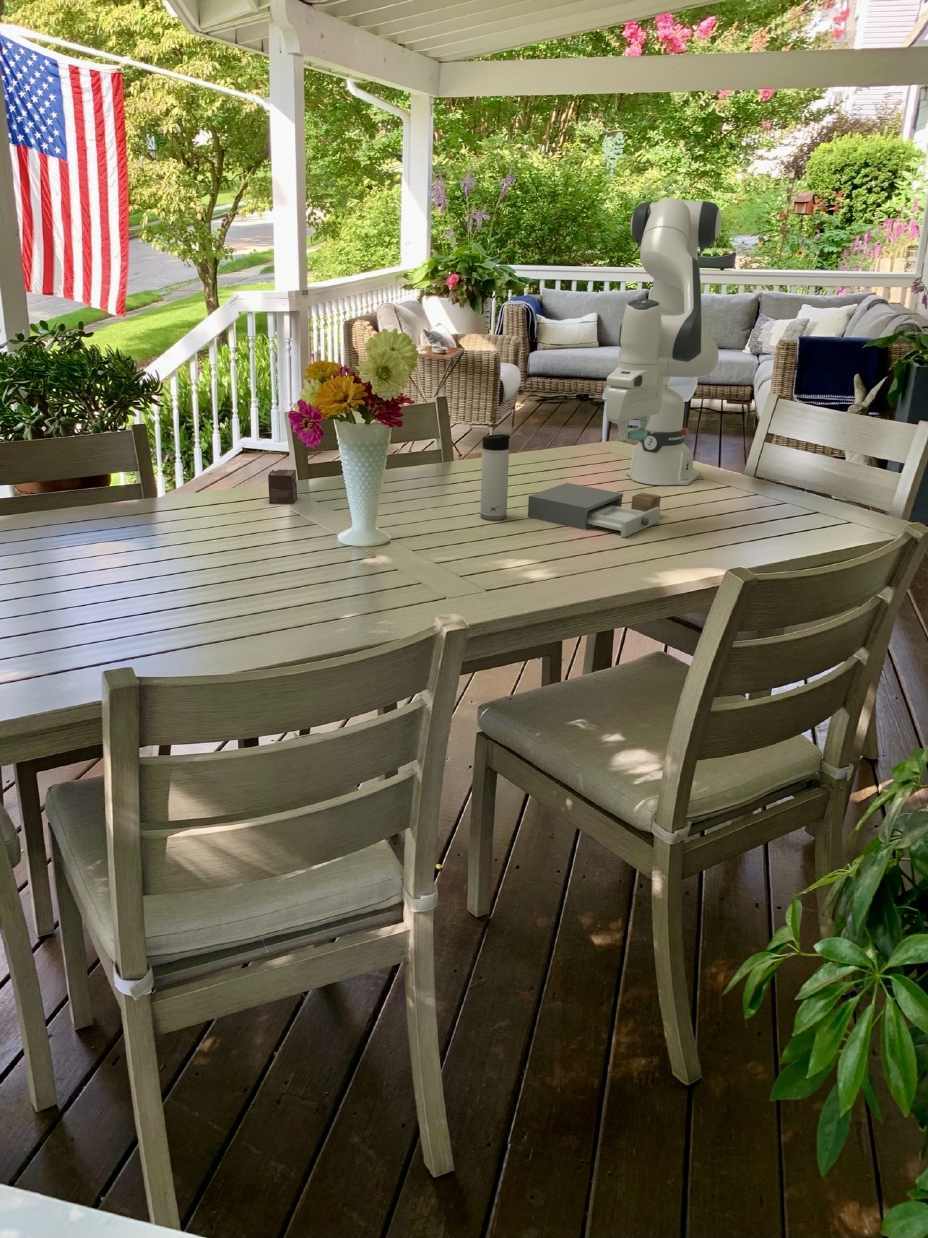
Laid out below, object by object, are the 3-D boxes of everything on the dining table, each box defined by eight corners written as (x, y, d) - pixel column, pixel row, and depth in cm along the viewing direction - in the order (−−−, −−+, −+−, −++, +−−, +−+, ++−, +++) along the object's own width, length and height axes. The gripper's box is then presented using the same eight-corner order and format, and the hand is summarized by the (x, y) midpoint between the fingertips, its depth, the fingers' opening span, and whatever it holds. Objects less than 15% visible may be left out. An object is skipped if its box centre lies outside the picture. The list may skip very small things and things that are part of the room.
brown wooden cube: (640, 512, 249) (642, 492, 248) (658, 515, 247) (660, 495, 245) (630, 516, 246) (632, 496, 244) (649, 520, 243) (651, 500, 241)
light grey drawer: (601, 509, 250) (602, 495, 249) (662, 522, 241) (664, 508, 239) (565, 524, 238) (566, 509, 236) (628, 538, 228) (629, 523, 227)
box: (293, 504, 250) (292, 475, 247) (268, 504, 250) (267, 474, 247) (297, 498, 255) (296, 469, 253) (273, 497, 255) (272, 468, 253)
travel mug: (497, 522, 239) (500, 437, 231) (475, 517, 242) (477, 433, 235) (512, 516, 243) (516, 433, 236) (490, 511, 247) (493, 429, 239)
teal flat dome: (626, 433, 236) (627, 427, 236) (651, 437, 233) (652, 430, 232) (613, 437, 231) (613, 430, 231) (638, 441, 228) (639, 433, 227)
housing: (565, 502, 256) (566, 482, 254) (621, 514, 247) (623, 493, 245) (527, 516, 243) (528, 495, 242) (585, 529, 235) (586, 507, 233)
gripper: (646, 371, 237) (641, 430, 242) (602, 378, 221) (598, 441, 226) (671, 373, 233) (665, 433, 238) (628, 380, 218) (623, 445, 223)
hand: (632, 437), depth 232 cm, fingers closed on teal flat dome, 6 cm apart
